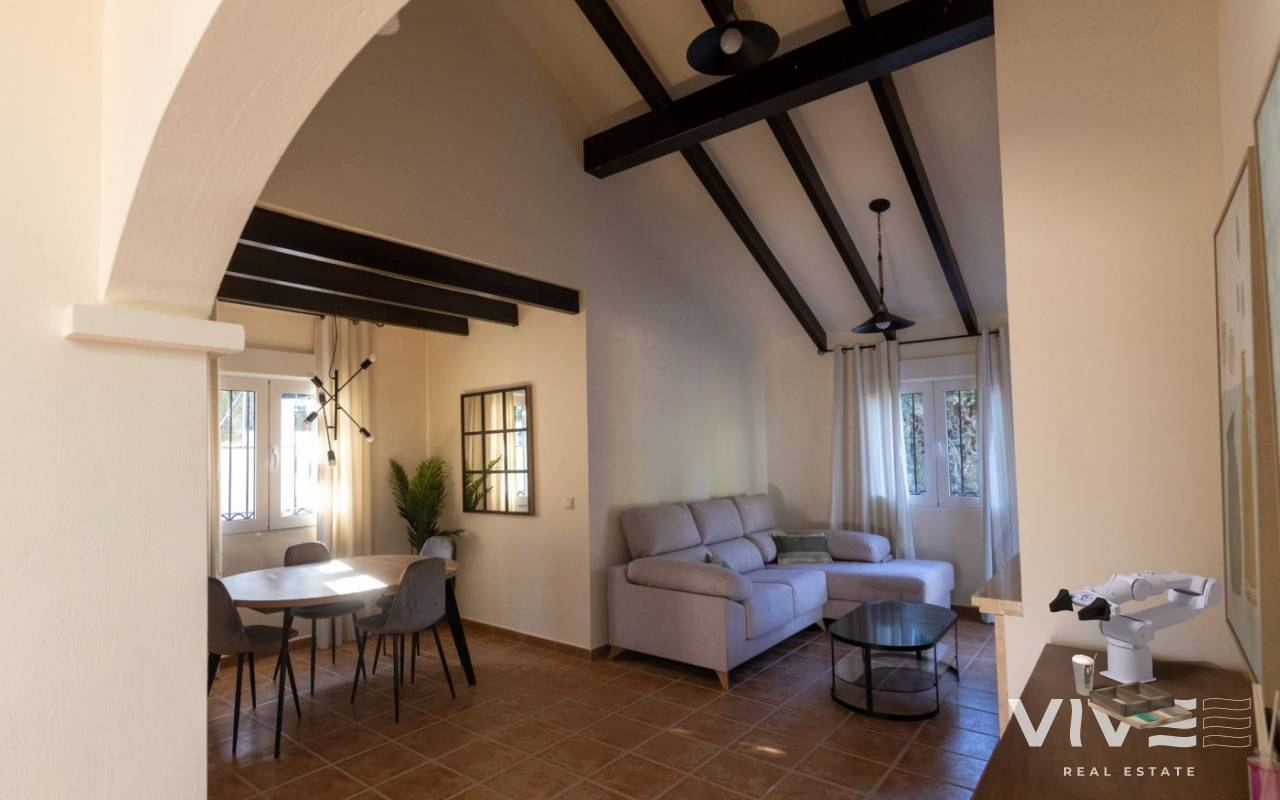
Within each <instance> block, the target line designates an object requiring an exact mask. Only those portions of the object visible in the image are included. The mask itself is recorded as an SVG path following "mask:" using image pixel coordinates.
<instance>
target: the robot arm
mask: <svg viewBox="0 0 1280 800" xmlns="http://www.w3.org/2000/svg"><path fill="white" fill-rule="evenodd" d="M1180 571H1181V570H1172V571H1171V573H1166V574H1162V575H1161V574H1158V573H1156V572H1155V571H1152V570H1145V571H1144V573H1137V572H1133V573H1132V574H1130V575H1128V574H1123V573H1117V572H1116V573H1114V574H1113V575H1111V578H1110V579H1109V580H1108V581H1105V582H1104V583H1101V584H1099V585H1096V586H1093V587H1092V586H1090V585H1089V586H1088V585H1085V586H1083V589H1081V590H1074V591H1069V589H1067V588H1061V589H1059V591H1058V593H1057V595H1056V597H1055V598H1054V599H1053V600H1052V601H1051V602H1050V603H1049V604H1048V608H1049V611H1050V613H1058V612H1062V611H1063V612H1064V611H1068V612H1074V610H1075V609H1074V607H1073V605H1074V606H1076V607H1077V608H1079V610H1078V611H1077V617H1078V621H1079V622H1081V621H1082V622H1085V621H1087V622H1088V621H1098V623H1097V625H1098V631H1099V633H1100V634H1101V635H1102V636H1103V639H1104V640H1105V641H1106V646H1107V650H1106V651H1107V670H1104V671H1100V672H1099V675H1101V676H1103V677H1106V678H1109V679H1110V680H1113V681H1116V682H1119V683H1122V684H1127V683H1132V682H1136V681H1139V682H1142V683H1144V684H1147V683H1151V682H1156V680H1157V678H1156V677H1153V676H1154V675H1153V655H1152V651H1151V649H1150V648H1149V646H1148V643H1149V642H1151V641H1153V640H1155V635H1156V632H1158V631H1161V630H1164V629H1167V628H1169V627H1172V626H1176V625H1178V624H1182V623H1185V622H1188V621H1191V620H1193V619H1195V618H1196V617H1197V616H1199V615H1200V614H1201V613H1202V612H1204V611H1205V610H1206V609H1208V608H1210V607H1214V606H1217V605H1219V604H1220V601H1221V599H1222V597H1223V594H1224V593H1223V592H1224V589H1223V588H1224V587H1223V585H1222V583H1221V581H1220V580H1219V579H1217V578H1216V577H1208V576H1207V577H1206V576H1202V575H1198V574H1194V573H1193V574H1192V573H1189V572H1184V571H1182V572H1180ZM1166 590H1168V592H1167V593H1168V594H1167V600H1168V601H1169V602H1166V603H1162V604H1159V605H1155V606H1152V607H1149V608H1146V609H1143V610H1140V611H1136V612H1134V613H1133V612H1132V613H1128V612H1127V613H1126V612H1121V605H1122V604H1125V603H1127V602H1130V601H1132V600H1133V601H1136V602H1137V601H1139V602H1141V603H1142V602H1144V601H1146V600H1147V599H1148V597H1154V596H1159V595H1163V594H1164V593H1165V592H1166Z"/></svg>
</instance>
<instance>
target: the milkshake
mask: <svg viewBox="0 0 1280 800" xmlns="http://www.w3.org/2000/svg"><path fill="white" fill-rule="evenodd" d="M1097 656H1098V653H1097V652H1095V655H1094V657H1093V658H1092V657H1090V656H1088V655H1084V654H1074V655H1073V656H1072V658H1071V661H1072V667H1073V668H1072V669H1073V674H1074V681H1075V683H1074V685H1075V690H1076V694H1079V695H1080V696H1084V697H1089V691H1092V690H1093V685H1094V684H1093V683H1094V674H1095V673H1094V672H1095V671H1094V670H1095V660H1096V657H1097Z"/></svg>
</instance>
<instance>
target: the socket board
mask: <svg viewBox="0 0 1280 800" xmlns="http://www.w3.org/2000/svg"><path fill="white" fill-rule="evenodd" d="M1088 698H1089V700H1088V701H1087V705H1088V707H1090V708H1092V709H1094V710H1096V711H1099V712H1101V713H1103V714H1105V715H1107V716H1110V717H1111V718H1113V719H1116V720H1118V721H1120V722H1122V723H1125V724H1127V725H1129V726H1131V727H1134V728H1136V729H1137V730H1145V729H1149V728H1153V727H1157V726H1161V725H1167V724H1171V723H1175V722H1178V721H1184V720H1187V719H1192V718H1193V717H1194V716H1193V712H1191V711H1189V710H1186V709H1184V708H1181V707H1178V706H1177V705H1176V706H1175V700H1176V699H1175V695H1174V694H1172V693H1169V692H1167V691H1165V690H1163V689H1159V688H1157V687H1154V686H1152V685H1149V684H1147V683H1142V682H1139V681H1136V682H1132V683H1127V684H1123V683H1122V684H1117V685H1113V686H1107V687H1104V688H1097V689H1092V691H1089V696H1088Z"/></svg>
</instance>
